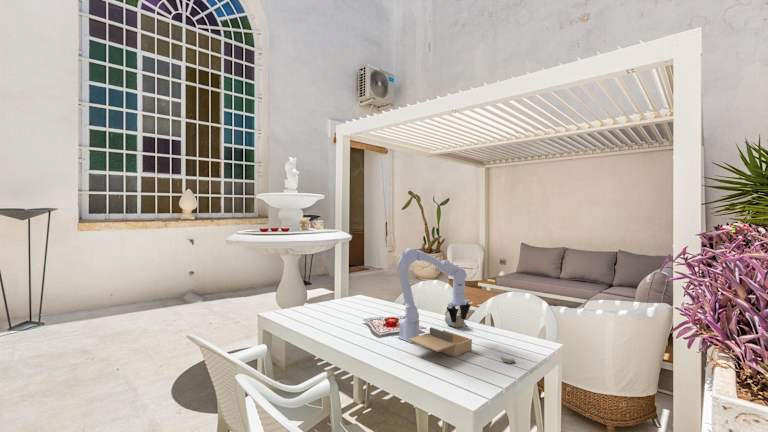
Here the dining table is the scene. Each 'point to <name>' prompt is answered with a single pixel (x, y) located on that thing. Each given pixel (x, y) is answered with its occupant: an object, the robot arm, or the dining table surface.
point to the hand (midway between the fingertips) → (458, 320)
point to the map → (507, 360)
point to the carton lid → (434, 340)
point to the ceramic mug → (458, 321)
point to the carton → (458, 345)
